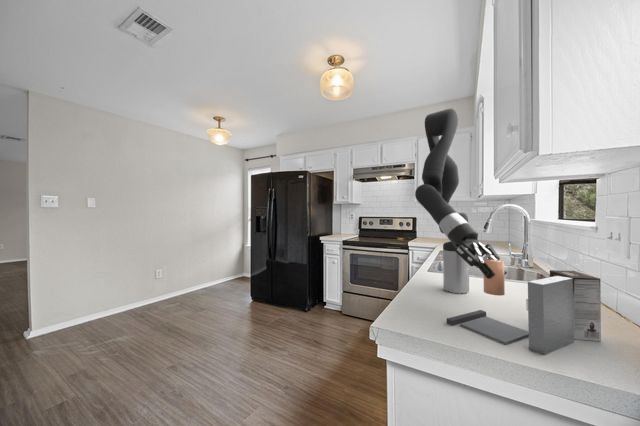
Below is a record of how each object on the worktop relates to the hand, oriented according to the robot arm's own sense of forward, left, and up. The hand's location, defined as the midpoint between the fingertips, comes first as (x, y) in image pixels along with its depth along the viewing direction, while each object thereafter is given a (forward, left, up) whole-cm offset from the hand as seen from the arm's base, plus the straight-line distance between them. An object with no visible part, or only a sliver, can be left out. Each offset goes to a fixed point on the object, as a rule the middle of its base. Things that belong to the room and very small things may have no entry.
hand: (497, 275), depth 69 cm
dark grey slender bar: (0, -9, -16) cm, 18 cm away
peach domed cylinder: (0, -1, -5) cm, 5 cm away
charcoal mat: (0, -1, -15) cm, 15 cm away
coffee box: (-18, +9, -16) cm, 25 cm away
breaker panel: (-4, +10, -15) cm, 19 cm away
